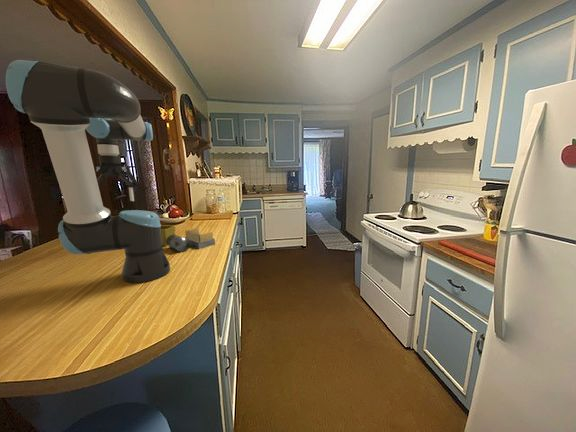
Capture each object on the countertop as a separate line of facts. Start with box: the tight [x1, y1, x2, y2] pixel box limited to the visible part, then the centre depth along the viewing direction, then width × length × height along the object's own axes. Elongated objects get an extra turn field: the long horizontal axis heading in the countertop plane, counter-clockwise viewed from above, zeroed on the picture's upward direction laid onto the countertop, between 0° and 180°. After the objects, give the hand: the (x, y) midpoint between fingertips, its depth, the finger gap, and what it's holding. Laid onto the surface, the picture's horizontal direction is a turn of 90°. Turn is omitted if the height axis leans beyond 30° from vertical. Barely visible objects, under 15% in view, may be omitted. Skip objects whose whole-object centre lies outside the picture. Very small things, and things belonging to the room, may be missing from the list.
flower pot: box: [160, 224, 176, 247], centre depth 118 cm, size 9×9×9 cm
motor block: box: [166, 227, 216, 253], centre depth 116 cm, size 14×19×6 cm
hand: (115, 202), depth 108 cm, fingers open, 13 cm apart
